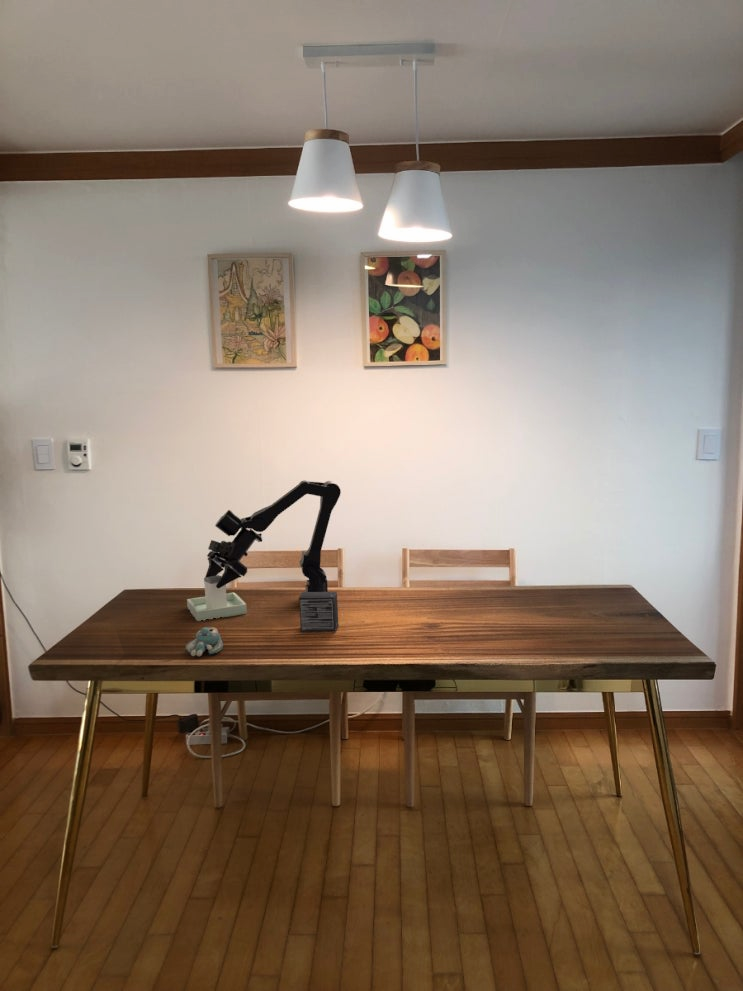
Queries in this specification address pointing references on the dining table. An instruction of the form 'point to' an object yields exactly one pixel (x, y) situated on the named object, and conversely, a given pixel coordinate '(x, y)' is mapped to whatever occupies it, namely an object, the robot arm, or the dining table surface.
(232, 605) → the tray
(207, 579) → the grey upright pillar
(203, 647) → the stuffed animal
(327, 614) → the small box
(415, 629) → the dining table surface
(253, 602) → the dining table surface
